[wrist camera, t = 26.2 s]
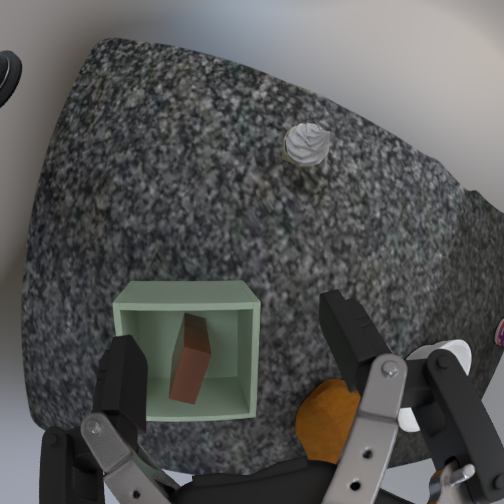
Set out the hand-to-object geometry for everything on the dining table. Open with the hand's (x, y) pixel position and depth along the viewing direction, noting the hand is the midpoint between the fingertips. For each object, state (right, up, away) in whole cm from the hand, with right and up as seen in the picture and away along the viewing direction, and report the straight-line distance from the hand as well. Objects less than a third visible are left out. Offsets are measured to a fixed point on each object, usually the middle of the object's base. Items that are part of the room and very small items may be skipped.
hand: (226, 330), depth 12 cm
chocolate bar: (-8, -9, +28) cm, 30 cm away
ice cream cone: (+5, +16, +28) cm, 33 cm away
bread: (+14, -27, +36) cm, 47 cm away
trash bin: (-8, -9, +28) cm, 31 cm away
